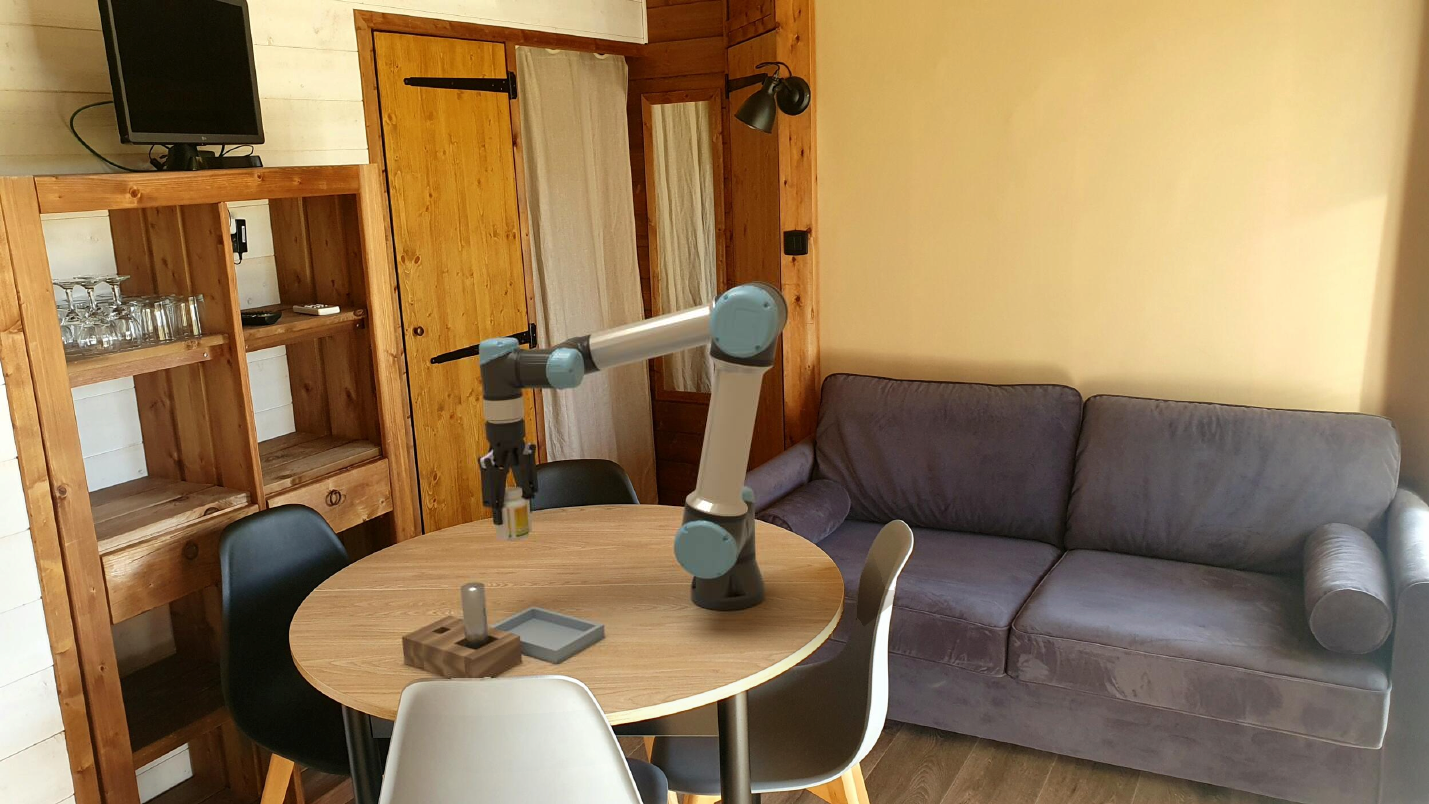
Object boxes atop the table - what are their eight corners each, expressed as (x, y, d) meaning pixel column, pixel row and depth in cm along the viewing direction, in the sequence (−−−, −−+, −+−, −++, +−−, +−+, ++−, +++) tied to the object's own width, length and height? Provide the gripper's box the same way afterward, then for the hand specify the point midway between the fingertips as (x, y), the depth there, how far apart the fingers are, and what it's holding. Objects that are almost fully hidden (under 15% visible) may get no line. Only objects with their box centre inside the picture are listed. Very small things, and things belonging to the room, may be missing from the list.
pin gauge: (495, 665, 182) (489, 585, 179) (478, 674, 178) (471, 592, 176) (479, 660, 184) (472, 580, 181) (462, 669, 181) (455, 588, 178)
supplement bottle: (500, 542, 200) (495, 494, 198) (502, 533, 205) (498, 486, 203) (528, 540, 200) (524, 492, 198) (530, 531, 205) (526, 484, 204)
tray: (604, 637, 192) (604, 624, 192) (556, 664, 182) (556, 650, 181) (533, 618, 202) (532, 606, 202) (484, 642, 192) (483, 629, 191)
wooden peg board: (521, 662, 183) (519, 635, 182) (475, 687, 174) (473, 659, 173) (451, 640, 193) (449, 615, 192) (404, 663, 184) (401, 636, 183)
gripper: (524, 408, 208) (533, 519, 212) (454, 427, 193) (465, 546, 197) (552, 411, 203) (560, 524, 208) (482, 430, 189) (493, 552, 193)
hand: (514, 535), depth 202 cm, fingers closed on supplement bottle, 5 cm apart
